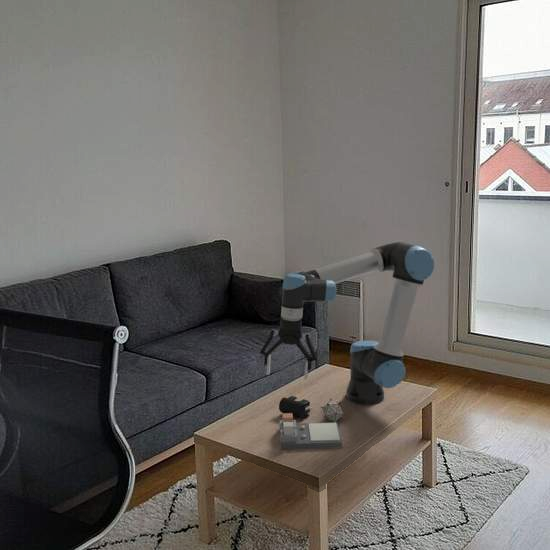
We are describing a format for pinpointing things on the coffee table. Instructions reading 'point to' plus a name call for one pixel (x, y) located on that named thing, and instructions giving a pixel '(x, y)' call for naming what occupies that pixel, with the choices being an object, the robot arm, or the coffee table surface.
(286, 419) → the terracotta switch
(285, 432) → the off-white switch
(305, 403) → the end cap
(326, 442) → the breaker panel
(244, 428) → the coffee table surface
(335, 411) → the game die
